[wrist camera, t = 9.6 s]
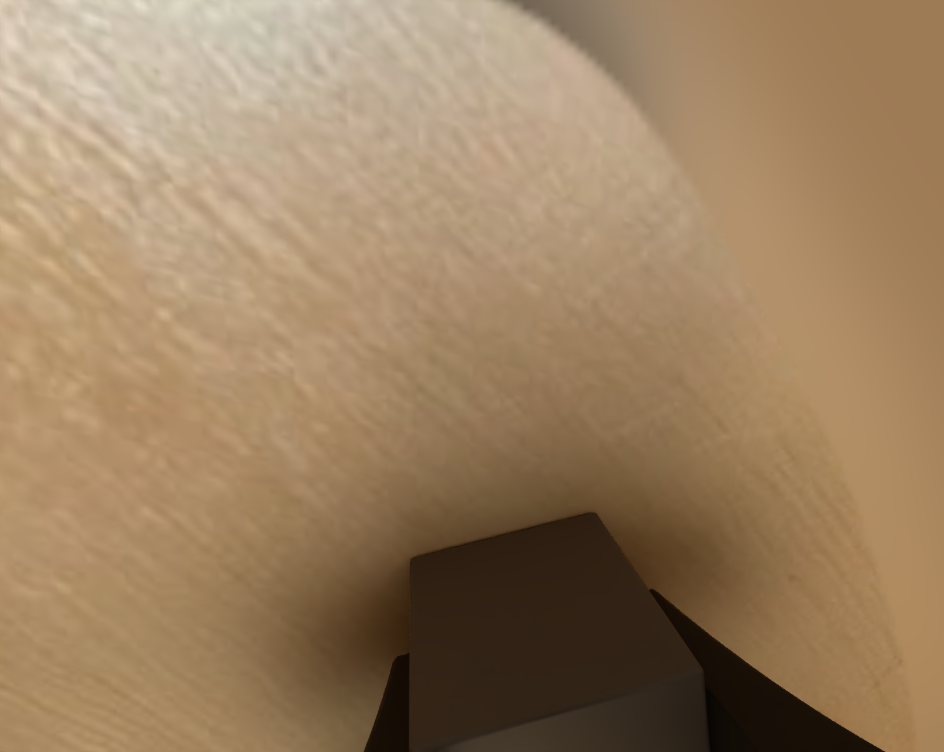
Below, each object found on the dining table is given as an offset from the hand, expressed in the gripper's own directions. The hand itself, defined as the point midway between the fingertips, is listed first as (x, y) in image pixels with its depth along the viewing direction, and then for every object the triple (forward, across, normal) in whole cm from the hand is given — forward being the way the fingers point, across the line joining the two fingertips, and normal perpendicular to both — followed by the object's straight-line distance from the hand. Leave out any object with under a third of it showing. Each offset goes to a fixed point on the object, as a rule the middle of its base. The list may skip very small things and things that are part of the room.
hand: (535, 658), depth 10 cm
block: (+1, 0, 0) cm, 1 cm away
